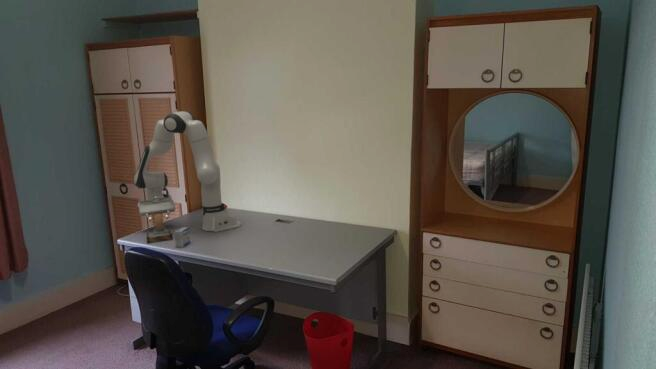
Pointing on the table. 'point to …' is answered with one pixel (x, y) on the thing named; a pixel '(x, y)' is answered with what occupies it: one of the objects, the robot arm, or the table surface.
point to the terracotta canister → (159, 222)
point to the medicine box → (182, 237)
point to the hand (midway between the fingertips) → (158, 219)
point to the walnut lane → (159, 237)
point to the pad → (160, 232)
